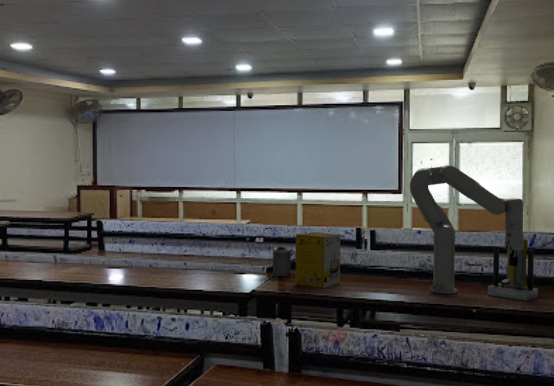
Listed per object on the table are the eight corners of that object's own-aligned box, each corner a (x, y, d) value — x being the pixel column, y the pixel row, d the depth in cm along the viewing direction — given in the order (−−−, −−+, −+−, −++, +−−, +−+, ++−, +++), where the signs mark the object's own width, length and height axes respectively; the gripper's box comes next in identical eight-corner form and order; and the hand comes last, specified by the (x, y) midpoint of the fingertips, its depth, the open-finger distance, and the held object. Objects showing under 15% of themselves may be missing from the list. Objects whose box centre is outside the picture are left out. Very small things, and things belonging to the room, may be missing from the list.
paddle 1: (506, 285, 270) (506, 282, 269) (501, 285, 272) (501, 281, 271) (510, 282, 273) (510, 279, 272) (505, 282, 274) (505, 278, 274)
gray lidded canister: (284, 273, 326) (284, 246, 326) (294, 276, 318) (294, 248, 318) (269, 275, 321) (269, 248, 321) (279, 278, 313) (278, 249, 313)
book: (526, 293, 277) (527, 240, 277) (511, 292, 279) (512, 239, 278) (519, 286, 294) (520, 236, 293) (505, 286, 295) (506, 236, 294)
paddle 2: (519, 285, 265) (520, 281, 266) (514, 284, 267) (514, 281, 267) (523, 286, 268) (524, 282, 269) (518, 285, 270) (518, 281, 270)
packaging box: (312, 279, 308) (313, 232, 307) (339, 283, 299) (340, 234, 298) (295, 284, 295) (295, 234, 294) (323, 288, 286) (324, 236, 285)
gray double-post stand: (526, 301, 259) (527, 251, 259) (487, 294, 272) (487, 247, 272) (538, 297, 268) (539, 249, 267) (498, 291, 281) (499, 245, 280)
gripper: (514, 227, 261) (514, 268, 262) (529, 225, 272) (528, 264, 272) (498, 226, 267) (498, 266, 267) (513, 224, 277) (512, 263, 278)
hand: (513, 265), depth 270 cm, fingers closed
